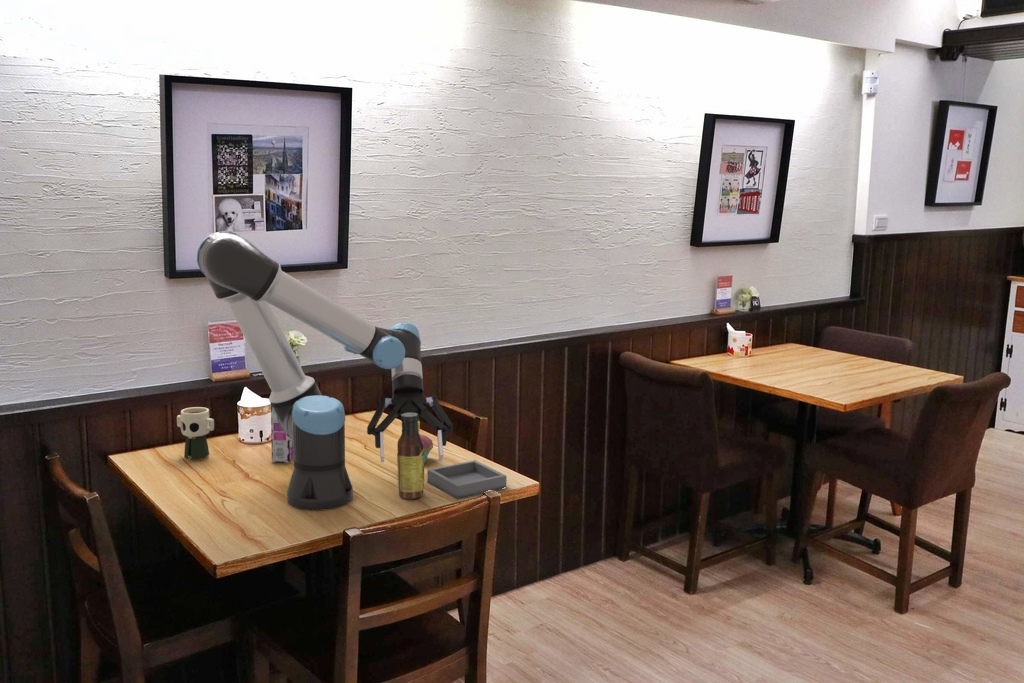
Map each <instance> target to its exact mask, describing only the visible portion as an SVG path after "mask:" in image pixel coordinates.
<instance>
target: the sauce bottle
mask: <svg viewBox="0 0 1024 683" xmlns="http://www.w3.org/2000/svg"><path fill="white" fill-rule="evenodd" d="M400 420H401V435H400V437H399V439H398V440H397V447H396V448H397V454H396V457H397V458H396V460H397V461H396V462H397V464H396V466H397V490H398V495H399V497H400V498H402V499H406V500H416V499H420V498H422V497H423V496H424V494H425V490H424V489H425V462H424V447H423V444H422V441H421V438H420V435H421V434H420V432H419V433H418V420H419V415H418V414H417V413H403V414H400ZM419 434H420V435H419Z"/></svg>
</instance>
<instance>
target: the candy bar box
mask: <svg viewBox="0 0 1024 683" xmlns="http://www.w3.org/2000/svg"><path fill="white" fill-rule="evenodd" d="M270 425H271V426H270V427H271V430H270V432H271V433H270V436H271V437H270V438H271V463H273V464H290V463H291V462H292V460H293V459H294V450H293V440H292V439H291V438H290V436H289V435H288V434H287V433H286V432H285V431H284V430H283V429H282V428H281V426H280V425H279V423H278V421H277V416H276V413H275V411H274V409H273V407H272V405H271V404H270Z"/></svg>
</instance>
